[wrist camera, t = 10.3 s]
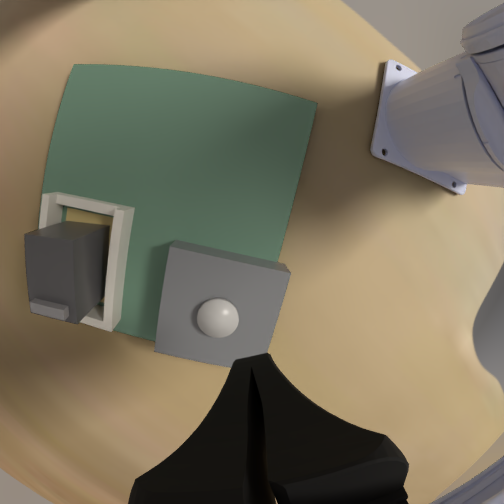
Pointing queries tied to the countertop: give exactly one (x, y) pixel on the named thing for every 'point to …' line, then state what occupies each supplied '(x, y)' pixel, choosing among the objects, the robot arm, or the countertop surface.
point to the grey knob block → (218, 304)
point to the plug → (66, 269)
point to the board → (171, 174)
